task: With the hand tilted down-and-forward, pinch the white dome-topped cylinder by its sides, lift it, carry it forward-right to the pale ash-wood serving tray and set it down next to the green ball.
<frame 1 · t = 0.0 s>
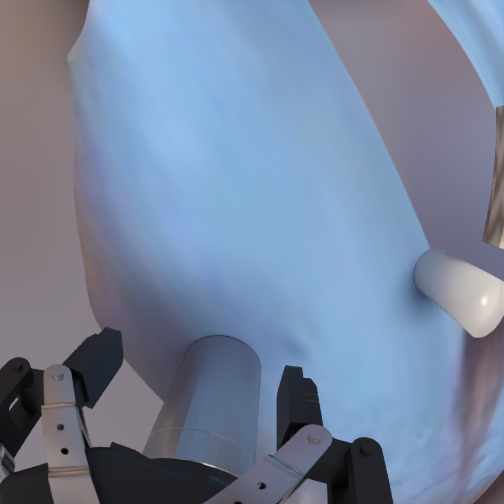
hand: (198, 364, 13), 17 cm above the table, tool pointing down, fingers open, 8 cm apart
white dome-topped cylinder: (432, 271, 28), on the table
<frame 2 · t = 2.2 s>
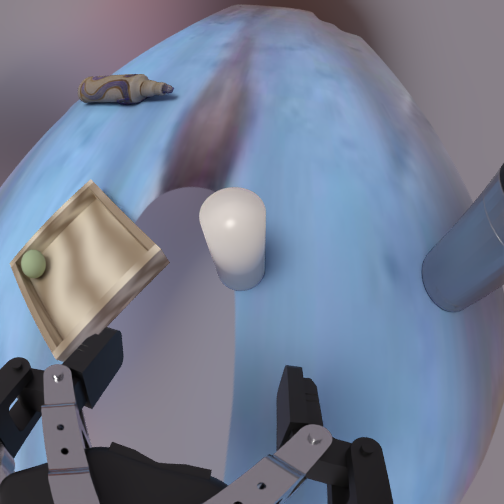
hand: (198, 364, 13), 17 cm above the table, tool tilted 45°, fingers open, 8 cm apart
white dome-topped cylinder: (241, 268, 33), on the table
green ball: (41, 270, 33), point 1 cm above the table, touching tray
tray: (82, 268, 34), on the table
decorative bottle: (123, 102, 52), on the table
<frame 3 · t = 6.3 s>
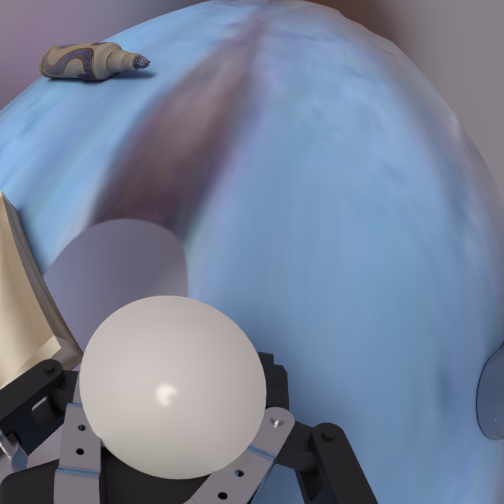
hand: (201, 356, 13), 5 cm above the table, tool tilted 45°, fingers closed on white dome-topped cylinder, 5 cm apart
white dome-topped cylinder: (203, 392, 16), on the table, touching gripper
decorative bottle: (87, 79, 35), on the table
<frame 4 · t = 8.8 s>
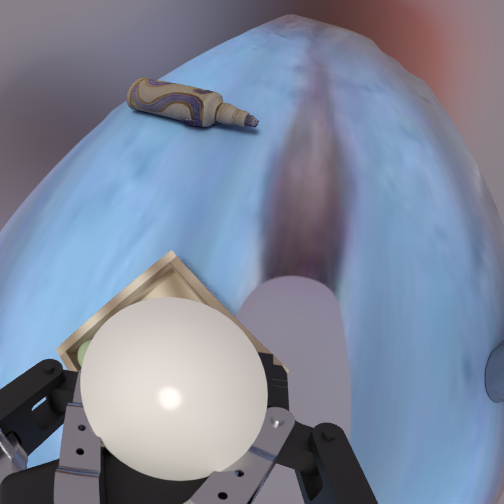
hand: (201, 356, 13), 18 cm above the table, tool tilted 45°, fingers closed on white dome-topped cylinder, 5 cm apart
white dome-topped cylinder: (203, 393, 16), point 13 cm above the table, touching gripper
green ball: (102, 359, 28), point 1 cm above the table, touching tray
tray: (167, 369, 29), on the table
decorative bottle: (185, 120, 47), on the table
when the fingers open (7 cm above the table, at t = 11.7 s): white dome-topped cylinder drops 2 cm, resting on tray.
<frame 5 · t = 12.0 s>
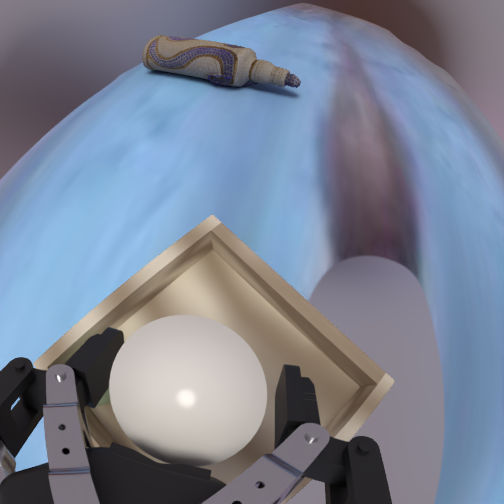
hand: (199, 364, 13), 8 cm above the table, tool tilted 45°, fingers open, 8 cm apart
white dome-topped cylinder: (207, 395, 18), point 1 cm above the table, touching tray
tray: (206, 392, 19), on the table
decorative bottle: (210, 81, 39), on the table
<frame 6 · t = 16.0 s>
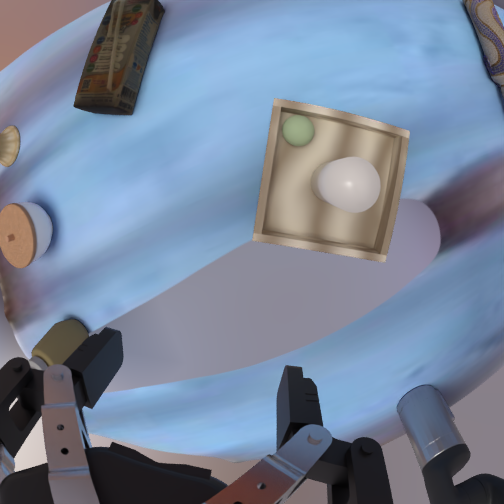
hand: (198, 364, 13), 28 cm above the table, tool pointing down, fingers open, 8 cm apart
white dome-topped cylinder: (330, 182, 36), point 1 cm above the table, touching tray
green ball: (296, 132, 35), point 1 cm above the table, touching tray
squeeze bottle: (78, 331, 47), on the table
tray: (330, 180, 37), on the table
beverage carton: (129, 59, 33), on the table
lidded jar: (42, 226, 42), on the table
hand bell: (9, 146, 38), on the table
decorative bottle: (485, 54, 28), on the table
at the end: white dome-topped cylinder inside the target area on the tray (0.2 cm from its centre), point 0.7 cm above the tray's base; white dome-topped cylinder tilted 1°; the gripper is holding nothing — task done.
